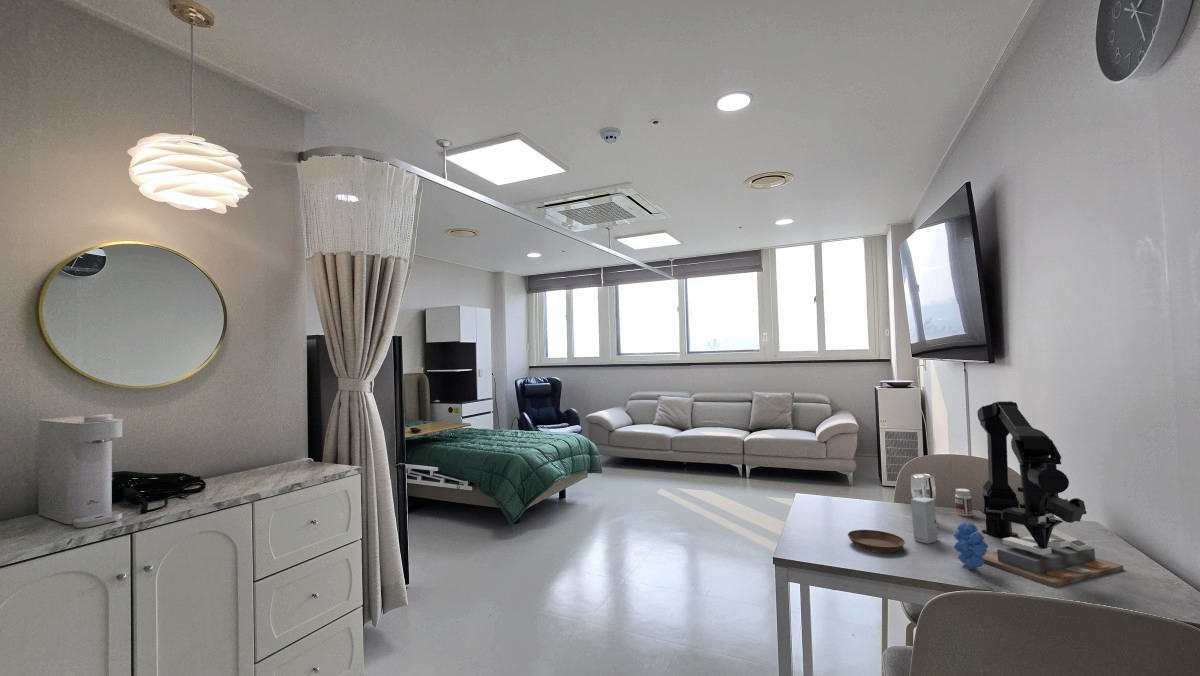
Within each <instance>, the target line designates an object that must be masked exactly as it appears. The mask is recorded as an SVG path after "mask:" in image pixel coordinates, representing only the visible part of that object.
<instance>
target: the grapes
mask: <svg viewBox="0 0 1200 676" xmlns="http://www.w3.org/2000/svg"><path fill="white" fill-rule="evenodd" d="M956 529H957V530H956V531H955V532H954V534H953V537H954V539H956V541H957V542H955V544H954V546H953V548H954V549H955V550H956V551H957V552H958V553H960V554H959V555H958V559H959V561H960V562H961V563H962V564H964V565H965V566H966V567H967V568H968V569H969V570H971V571H974V570H977V568H981V567H982V566H984V564H985V563H984V562H985V560H984V559H983V558H982V556H984V555H985V554H987V549H988V547H989V545H988V544H987V542H985V541H984V538H985V537H984V536H983V534H981V533H980V532H979V530H978V527H977V526H976V525H975V524H974V523H971V522H970V523H969V522H968V523H967V522H961V523H960V524H959V525H958V526H957V527H956Z"/></svg>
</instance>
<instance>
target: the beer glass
mask: <svg viewBox="0 0 1200 676" xmlns="http://www.w3.org/2000/svg"><path fill="white" fill-rule="evenodd" d="M936 491H937V489H936V482H935V476H934V475H932V474H927V473H912V474H910V492H911V496H912V499H914V498H918V497H925V498H931V499H934V504H935V505H936V493H937V492H936Z"/></svg>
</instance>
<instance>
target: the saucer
mask: <svg viewBox="0 0 1200 676" xmlns="http://www.w3.org/2000/svg"><path fill="white" fill-rule="evenodd" d="M847 537H848V539H849V540H850V541H851V542H852V543H853V544H854V545H855V546H856V547H858V548H859V547H860V548H859V549H861V548H862V549H861V550H864V549H865V550H864V551H867V550H868V552H872V551H873V553H878V552H880V554H887V553H888V554H889V553H890V552H891V553H895V552H898V551H899V550H900V549H902V547H904V545H905V544H906V541H905V539H904V538H903V537H900V536H898V535H896V534H893V533H890V532H886V531H881V530H874V529H856V530H850V531H849V532H848V533H847Z"/></svg>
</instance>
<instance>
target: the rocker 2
mask: <svg viewBox="0 0 1200 676" xmlns="http://www.w3.org/2000/svg"><path fill="white" fill-rule="evenodd" d="M1050 538H1053V539H1063V540H1067V541H1069V543H1070V546H1069V547H1071V548H1073V549H1075V550H1077V551H1081V550H1086V549H1087V548H1088V547H1089V544H1087V543H1085V542H1083V541H1081V540H1078V539H1077V538H1075V537H1074V536H1070V535H1068V534H1066V533H1064V532H1062V531H1060V530H1059V529H1056V528H1055V527H1054V528H1053V530H1052V532H1051V535H1050Z"/></svg>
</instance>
